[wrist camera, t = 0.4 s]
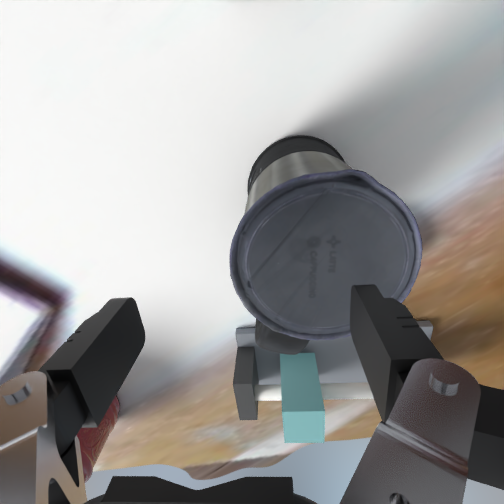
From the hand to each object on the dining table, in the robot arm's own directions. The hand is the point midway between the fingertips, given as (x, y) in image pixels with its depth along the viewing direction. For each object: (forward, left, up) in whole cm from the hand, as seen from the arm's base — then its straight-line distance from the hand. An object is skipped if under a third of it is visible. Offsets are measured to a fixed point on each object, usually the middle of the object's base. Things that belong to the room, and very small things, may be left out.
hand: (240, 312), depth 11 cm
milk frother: (+3, +7, -19) cm, 20 cm away
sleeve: (+22, +3, -17) cm, 28 cm away
